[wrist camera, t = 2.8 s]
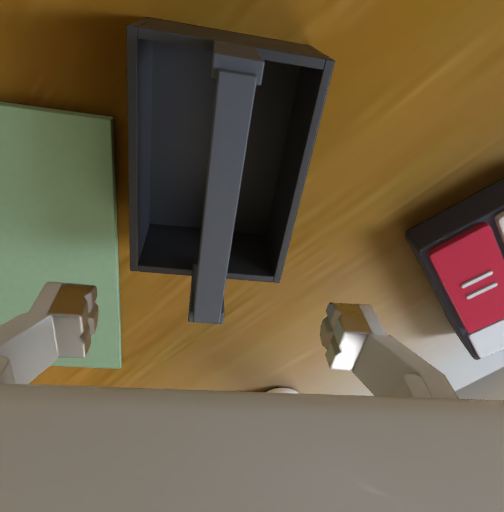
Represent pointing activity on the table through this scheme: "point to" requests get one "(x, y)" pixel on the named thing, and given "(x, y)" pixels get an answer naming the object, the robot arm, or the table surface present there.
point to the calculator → (468, 267)
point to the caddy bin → (217, 152)
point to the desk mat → (60, 216)
